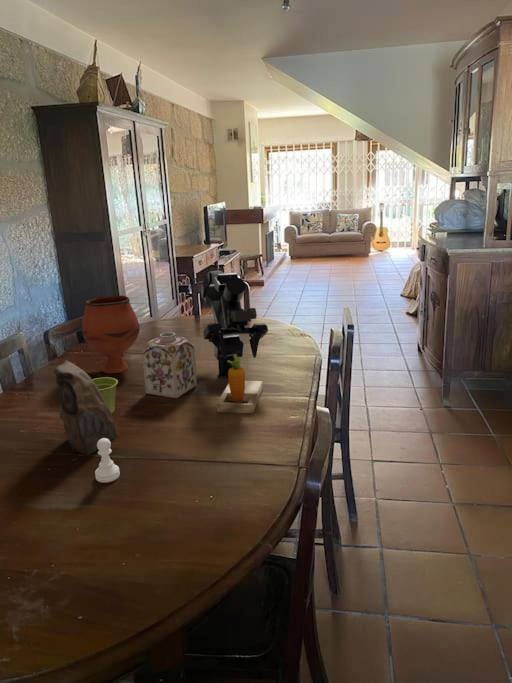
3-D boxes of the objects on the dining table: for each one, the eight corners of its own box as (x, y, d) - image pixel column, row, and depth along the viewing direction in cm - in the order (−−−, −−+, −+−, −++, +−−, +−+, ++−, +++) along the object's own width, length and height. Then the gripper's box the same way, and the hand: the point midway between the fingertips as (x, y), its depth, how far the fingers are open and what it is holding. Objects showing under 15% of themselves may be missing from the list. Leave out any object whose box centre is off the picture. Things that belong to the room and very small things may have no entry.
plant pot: (127, 407, 144) (124, 378, 142) (107, 421, 136) (104, 391, 133) (99, 403, 147) (96, 376, 145) (79, 417, 139) (74, 387, 136)
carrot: (243, 410, 140) (240, 359, 136) (226, 408, 142) (223, 357, 137) (249, 403, 144) (247, 353, 140) (233, 401, 146) (231, 352, 142)
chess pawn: (101, 470, 112) (96, 433, 109) (123, 470, 111) (118, 433, 108) (91, 482, 107) (86, 444, 104) (114, 483, 106) (110, 444, 104)
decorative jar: (198, 385, 159) (194, 330, 154) (177, 399, 149) (173, 341, 144) (166, 381, 164) (162, 327, 159) (144, 393, 154) (139, 337, 149)
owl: (87, 458, 117) (76, 377, 111) (45, 449, 121) (32, 371, 116) (121, 434, 128) (112, 359, 122) (81, 427, 133) (70, 355, 127)
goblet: (132, 357, 189) (125, 291, 182) (151, 370, 174) (145, 299, 167) (80, 367, 179) (71, 298, 172) (96, 383, 164) (86, 308, 157)
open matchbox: (217, 411, 139) (216, 403, 139) (230, 387, 156) (230, 380, 156) (253, 413, 138) (252, 404, 137) (262, 388, 155) (262, 381, 154)
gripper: (210, 296, 142) (218, 347, 137) (270, 298, 150) (280, 346, 144) (199, 314, 152) (206, 362, 146) (256, 314, 159) (265, 360, 153)
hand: (240, 357), depth 147 cm, fingers open, 9 cm apart
